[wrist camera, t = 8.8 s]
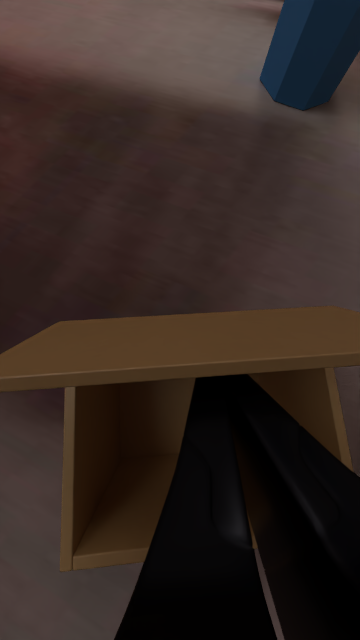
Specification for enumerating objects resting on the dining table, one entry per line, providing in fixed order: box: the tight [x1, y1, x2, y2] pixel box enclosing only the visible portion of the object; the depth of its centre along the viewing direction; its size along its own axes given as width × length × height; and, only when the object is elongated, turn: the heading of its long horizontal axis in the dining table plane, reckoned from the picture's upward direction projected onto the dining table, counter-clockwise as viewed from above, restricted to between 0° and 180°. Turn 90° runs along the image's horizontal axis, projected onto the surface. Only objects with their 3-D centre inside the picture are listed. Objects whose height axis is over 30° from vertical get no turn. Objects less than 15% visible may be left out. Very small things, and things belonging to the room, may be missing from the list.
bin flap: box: [0, 306, 360, 392], centre depth 7 cm, size 5×13×1 cm
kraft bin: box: [60, 367, 354, 572], centre depth 14 cm, size 10×13×9 cm
